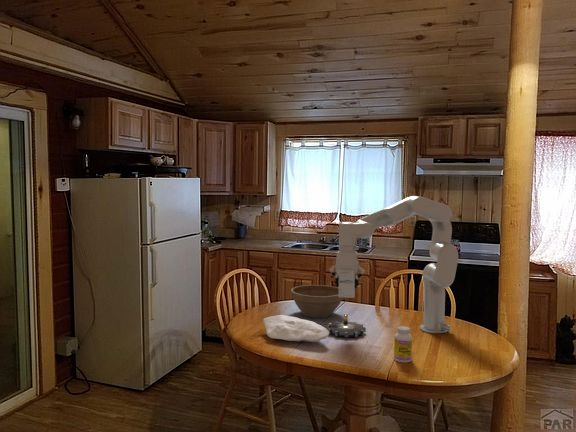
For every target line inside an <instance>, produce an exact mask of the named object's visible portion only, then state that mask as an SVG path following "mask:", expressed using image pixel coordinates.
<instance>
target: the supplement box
mask: <svg viewBox="0 0 576 432" xmlns="http://www.w3.org/2000/svg"><path fill="white" fill-rule="evenodd" d="M338 288H339V297H344V298H350V299H351V298H352V299H355V295H356V290H355V289H356V288H355V270H342V269H339V286H338Z"/></svg>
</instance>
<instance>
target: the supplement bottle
mask: <svg viewBox="0 0 576 432" xmlns="http://www.w3.org/2000/svg"><path fill="white" fill-rule="evenodd" d="M410 332H411V328H410V327H409V326H404V325H401V326H397V333H395V335H394V345H393V346H394V348H393V350H394V351H393V359H394V360H395V361H396V362H399V363H404V364H405V363H409V362H411V361H412V353H413V351H412V350H413V336H412V334H411V333H410Z"/></svg>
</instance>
